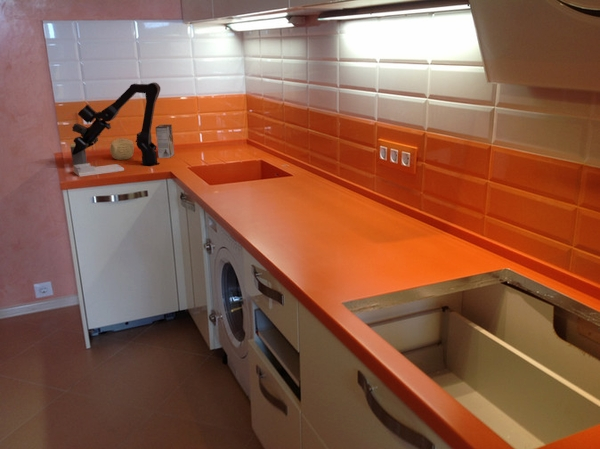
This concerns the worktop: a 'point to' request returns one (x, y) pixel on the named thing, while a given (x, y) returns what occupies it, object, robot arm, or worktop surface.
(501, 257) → the worktop surface
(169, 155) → the coffee box
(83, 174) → the notch board
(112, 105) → the robot arm
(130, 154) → the sculpture
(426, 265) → the worktop surface
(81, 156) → the grey tall block
